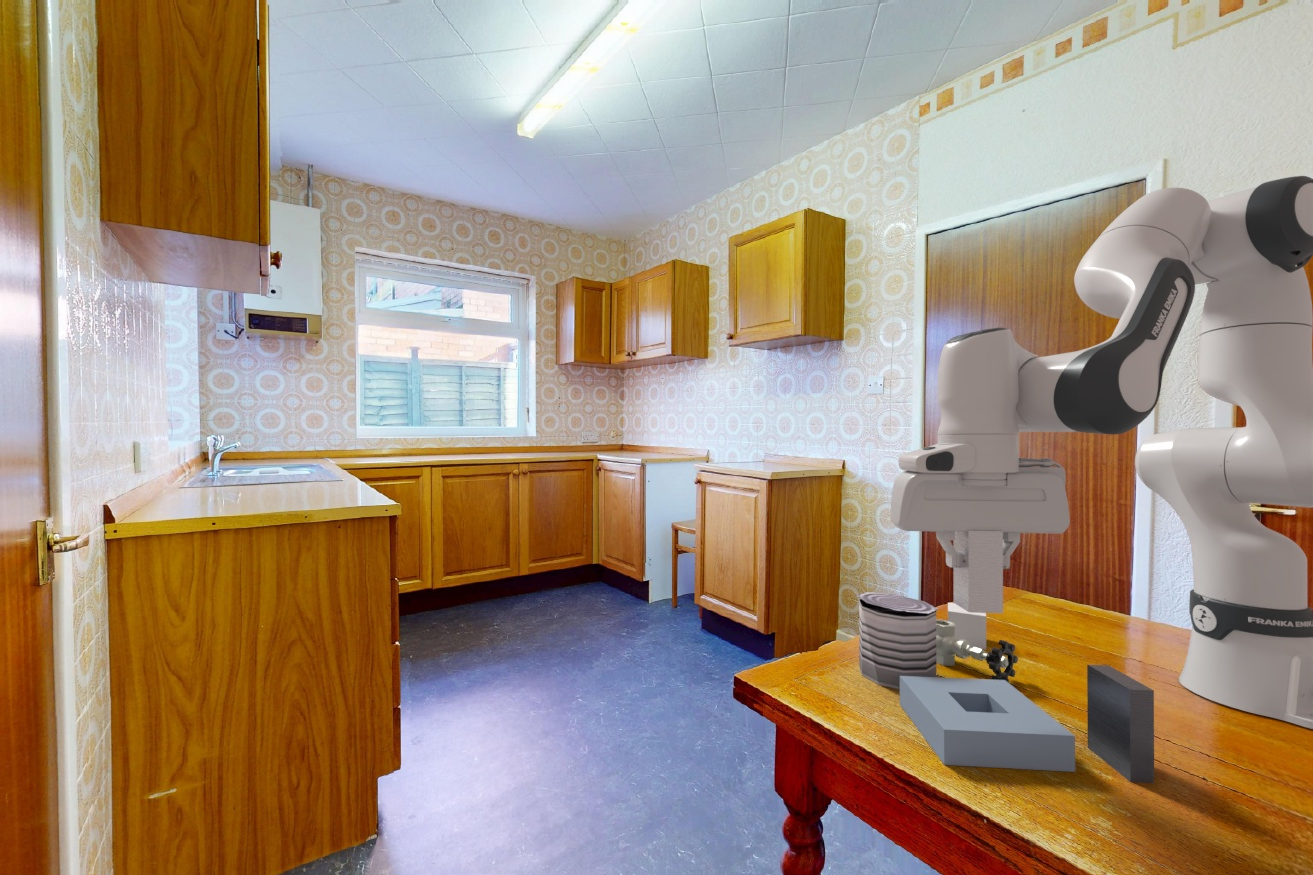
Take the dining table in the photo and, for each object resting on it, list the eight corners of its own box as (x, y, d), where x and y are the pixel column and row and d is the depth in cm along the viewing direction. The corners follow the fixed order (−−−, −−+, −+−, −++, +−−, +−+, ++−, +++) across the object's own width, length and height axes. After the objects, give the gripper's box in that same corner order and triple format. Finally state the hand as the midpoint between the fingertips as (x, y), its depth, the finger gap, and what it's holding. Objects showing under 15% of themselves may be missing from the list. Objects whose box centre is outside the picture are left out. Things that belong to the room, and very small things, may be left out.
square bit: (985, 603, 69) (985, 526, 69) (1003, 613, 65) (1002, 531, 65) (953, 602, 69) (953, 525, 70) (968, 612, 65) (968, 530, 66)
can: (846, 660, 90) (846, 589, 90) (911, 658, 91) (911, 588, 91) (879, 692, 78) (879, 610, 78) (953, 690, 79) (953, 609, 79)
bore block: (1005, 709, 74) (1005, 679, 74) (1075, 771, 60) (1075, 735, 60) (899, 704, 75) (899, 675, 75) (944, 764, 61) (944, 729, 61)
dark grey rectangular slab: (1108, 748, 64) (1108, 665, 64) (1154, 783, 58) (1153, 690, 58) (1087, 747, 64) (1087, 664, 64) (1130, 781, 58) (1129, 689, 58)
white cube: (986, 650, 95) (986, 616, 95) (947, 644, 98) (947, 611, 98) (984, 638, 100) (984, 606, 100) (947, 633, 103) (947, 602, 103)
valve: (919, 661, 90) (995, 690, 79) (919, 622, 90) (995, 645, 79) (942, 653, 93) (1018, 680, 83) (942, 615, 93) (1018, 637, 83)
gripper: (1048, 457, 70) (1048, 563, 70) (886, 456, 72) (886, 559, 71) (1082, 458, 63) (1082, 575, 63) (903, 458, 65) (903, 571, 65)
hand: (977, 567), depth 67 cm, fingers closed on square bit, 4 cm apart
